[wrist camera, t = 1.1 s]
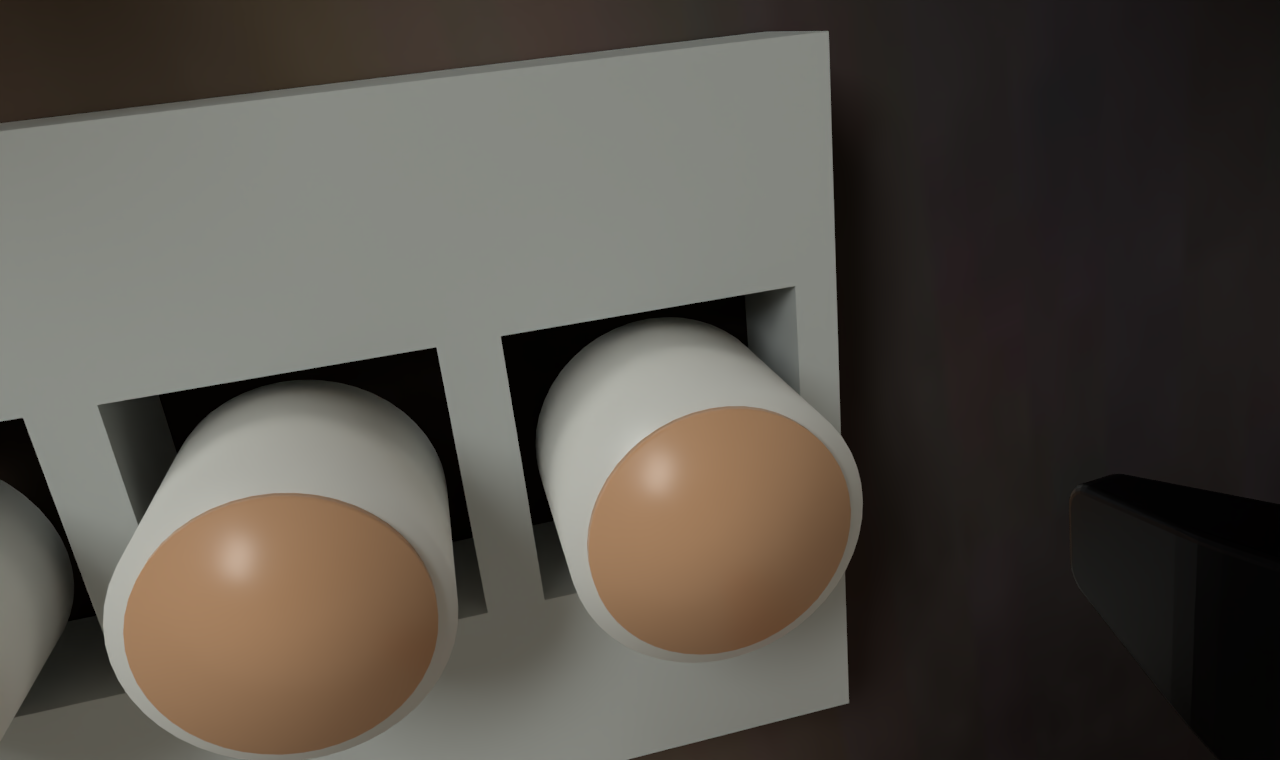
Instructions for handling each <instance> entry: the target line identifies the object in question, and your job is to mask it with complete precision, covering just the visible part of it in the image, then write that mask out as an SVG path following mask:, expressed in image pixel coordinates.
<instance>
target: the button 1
mask: <svg viewBox="0 0 1280 760" xmlns="http://www.w3.org/2000/svg"><path fill="white" fill-rule="evenodd" d="M73 600H74V578H73V570H72V566H71V562H70V559H69V555H68V552H67V550H66V548H65V546H64V544H63V541H62V539H61V537H60V536H59V534H58V533H57V531H56V529H55V528H54V526H53V525H52V523H51V522H50V521H49V520H48V519H47V517H46V516H45V515H44V514H43V513H42V512H41V510H40V509H39V508H38V507H37V506H36V505H34V504H33V503H32V502H31V501H30V500H29V499H28V498H27V497H26V496H24V495H23V494H22V493H20V492H19V491H17V490H16V489H15V488H13V487H12V486H10V485H9V484H7V483H6V482H4V481H2V480H0V741H1V739H2V738H3V736H4V734H5V732H6V731H7V729H8V727H9V725H10V724H11V722H12V720H13V718H14V717H15V715H16V713H17V711H18V710H19V708H20V706H21V704H22V703H23V701H24V699H25V697H26V696H27V694H28V692H29V690H30V689H31V687H32V685H33V683H34V682H35V680H36V678H37V676H38V675H39V673H40V671H41V669H42V668H43V666H44V664H45V662H46V661H47V659H48V657H49V655H50V654H51V652H52V650H53V648H54V647H55V645H56V643H57V641H58V640H59V638H60V636H61V634H62V633H63V631H64V629H65V627H66V624H67V622H68V619H69V617H70V613H71V609H72V604H73Z"/></svg>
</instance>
